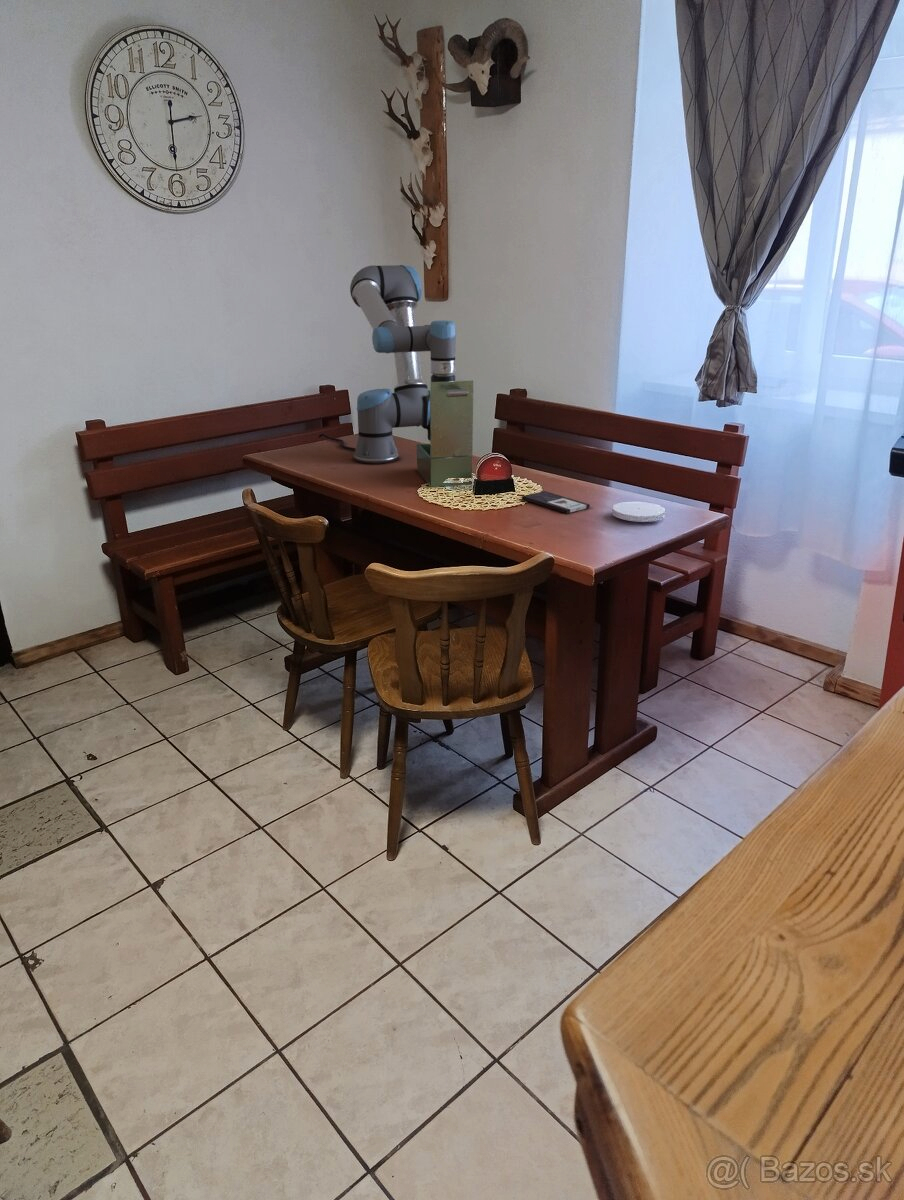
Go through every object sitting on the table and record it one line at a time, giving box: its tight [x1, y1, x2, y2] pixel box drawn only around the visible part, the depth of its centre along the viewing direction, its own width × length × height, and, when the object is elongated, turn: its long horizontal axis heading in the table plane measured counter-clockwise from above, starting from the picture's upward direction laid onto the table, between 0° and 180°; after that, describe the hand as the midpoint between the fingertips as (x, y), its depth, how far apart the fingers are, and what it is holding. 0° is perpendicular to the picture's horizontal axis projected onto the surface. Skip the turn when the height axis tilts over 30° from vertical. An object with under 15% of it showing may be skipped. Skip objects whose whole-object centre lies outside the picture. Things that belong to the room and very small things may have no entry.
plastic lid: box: [611, 501, 667, 523], centre depth 218 cm, size 14×14×2 cm
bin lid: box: [429, 380, 474, 458], centre depth 238 cm, size 22×13×8 cm
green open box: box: [416, 443, 473, 488], centre depth 257 cm, size 21×13×9 cm, turn 14°
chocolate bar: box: [521, 490, 590, 514], centre depth 231 cm, size 9×1×18 cm
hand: (443, 449), depth 256 cm, fingers closed on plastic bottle, 6 cm apart
